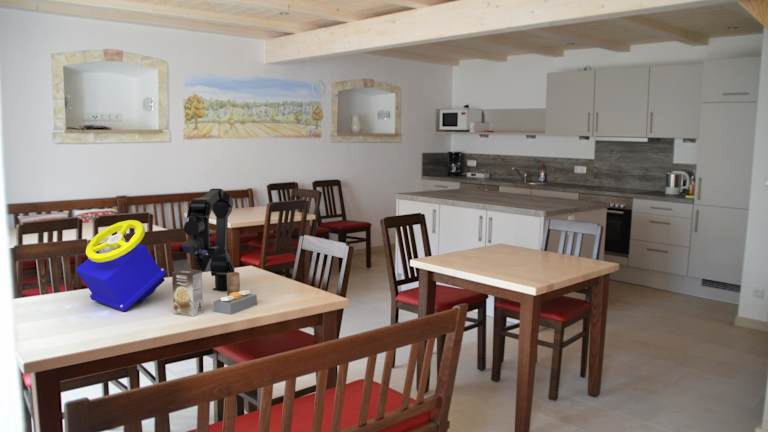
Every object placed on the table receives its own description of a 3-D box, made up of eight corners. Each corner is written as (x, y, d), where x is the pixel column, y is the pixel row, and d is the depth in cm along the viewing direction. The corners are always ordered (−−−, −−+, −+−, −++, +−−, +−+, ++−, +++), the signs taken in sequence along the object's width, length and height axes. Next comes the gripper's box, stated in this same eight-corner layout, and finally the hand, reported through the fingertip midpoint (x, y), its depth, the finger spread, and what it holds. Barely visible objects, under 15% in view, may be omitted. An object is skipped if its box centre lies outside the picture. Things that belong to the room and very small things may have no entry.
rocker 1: (220, 300, 237) (220, 297, 237) (226, 298, 240) (226, 295, 239) (228, 300, 235) (227, 297, 235) (234, 298, 238) (233, 295, 238)
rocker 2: (237, 295, 245) (236, 292, 245) (242, 293, 248) (242, 290, 248) (244, 295, 243) (244, 292, 243) (250, 293, 246) (249, 290, 246)
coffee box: (172, 314, 234) (170, 271, 231) (183, 309, 240) (181, 268, 237) (193, 317, 231) (191, 273, 228) (204, 312, 237) (202, 270, 234)
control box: (148, 269, 268) (113, 214, 251) (188, 282, 253) (154, 224, 236) (100, 312, 253) (59, 255, 236) (140, 328, 238) (99, 269, 221)
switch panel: (214, 311, 237) (213, 301, 237) (240, 302, 250) (240, 292, 250) (230, 314, 234) (230, 304, 233) (256, 304, 247) (256, 294, 246)
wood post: (224, 298, 256) (224, 274, 255) (233, 295, 260) (232, 271, 259) (234, 299, 254) (233, 275, 252) (242, 297, 258) (241, 272, 257)
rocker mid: (228, 296, 241) (229, 293, 241) (234, 294, 244) (234, 291, 243) (236, 299, 239) (236, 296, 239) (241, 297, 242) (242, 294, 242)
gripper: (167, 232, 241) (169, 272, 243) (205, 236, 233) (206, 278, 235) (189, 228, 251) (191, 267, 253) (225, 232, 242) (227, 272, 245)
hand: (203, 271), depth 246 cm, fingers closed
